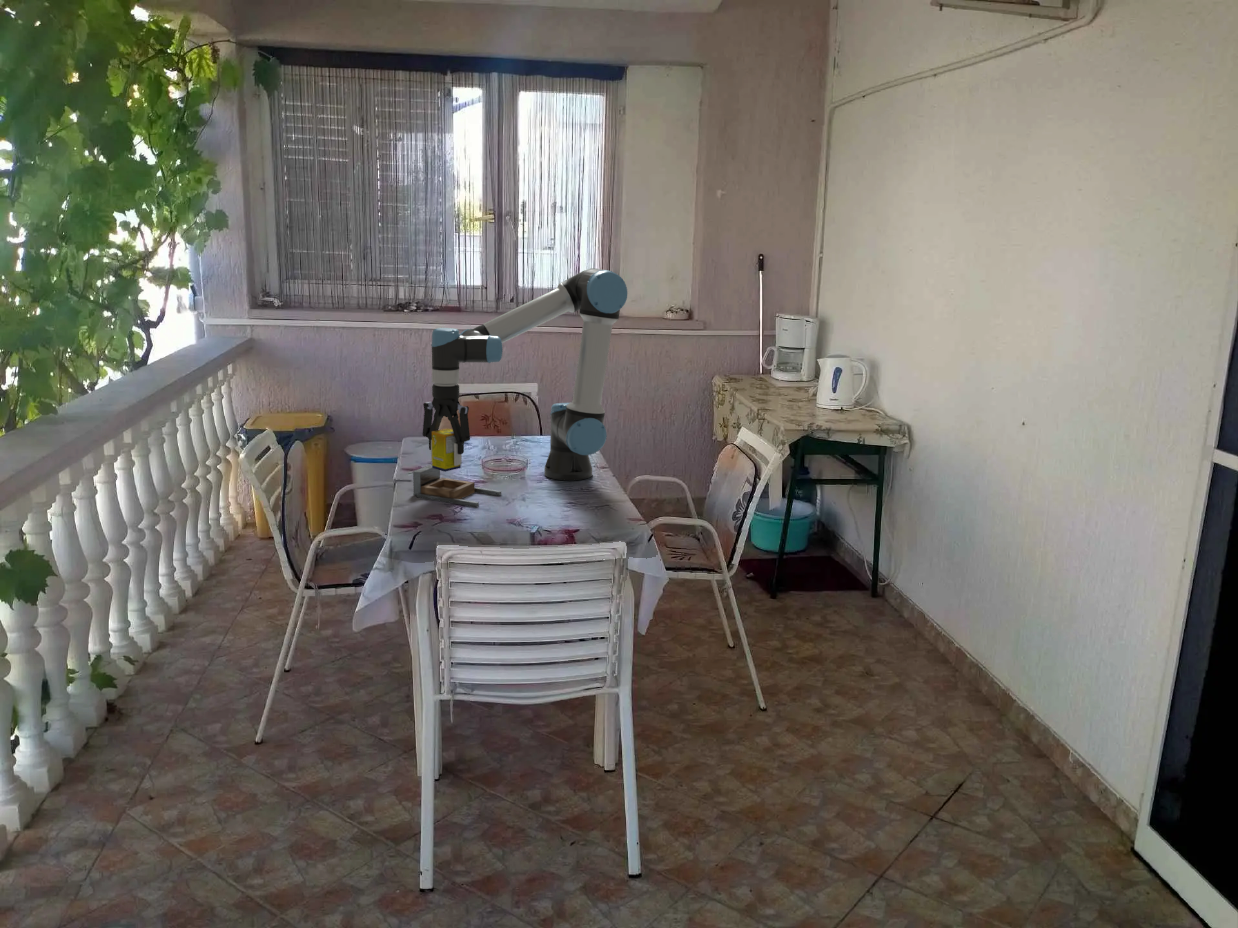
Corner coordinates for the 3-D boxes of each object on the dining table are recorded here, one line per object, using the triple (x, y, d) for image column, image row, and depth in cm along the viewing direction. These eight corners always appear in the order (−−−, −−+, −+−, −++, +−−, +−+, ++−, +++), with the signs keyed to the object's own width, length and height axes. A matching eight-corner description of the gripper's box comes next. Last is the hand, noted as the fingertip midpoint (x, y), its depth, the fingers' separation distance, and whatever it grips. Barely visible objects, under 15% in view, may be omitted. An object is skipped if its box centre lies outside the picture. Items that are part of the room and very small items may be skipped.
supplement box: (447, 464, 271) (447, 427, 268) (461, 468, 267) (461, 431, 264) (431, 468, 266) (431, 430, 263) (445, 472, 263) (444, 434, 260)
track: (501, 495, 270) (501, 471, 268) (476, 507, 257) (476, 483, 256) (436, 485, 278) (436, 462, 276) (409, 496, 265) (409, 472, 264)
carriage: (474, 492, 271) (474, 482, 271) (454, 501, 262) (453, 491, 261) (442, 487, 275) (442, 477, 275) (421, 496, 266) (420, 486, 265)
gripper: (483, 385, 260) (483, 464, 266) (423, 378, 268) (424, 456, 273) (469, 389, 254) (469, 470, 259) (408, 382, 261) (409, 461, 266)
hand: (446, 462), depth 266 cm, fingers closed on supplement box, 7 cm apart
